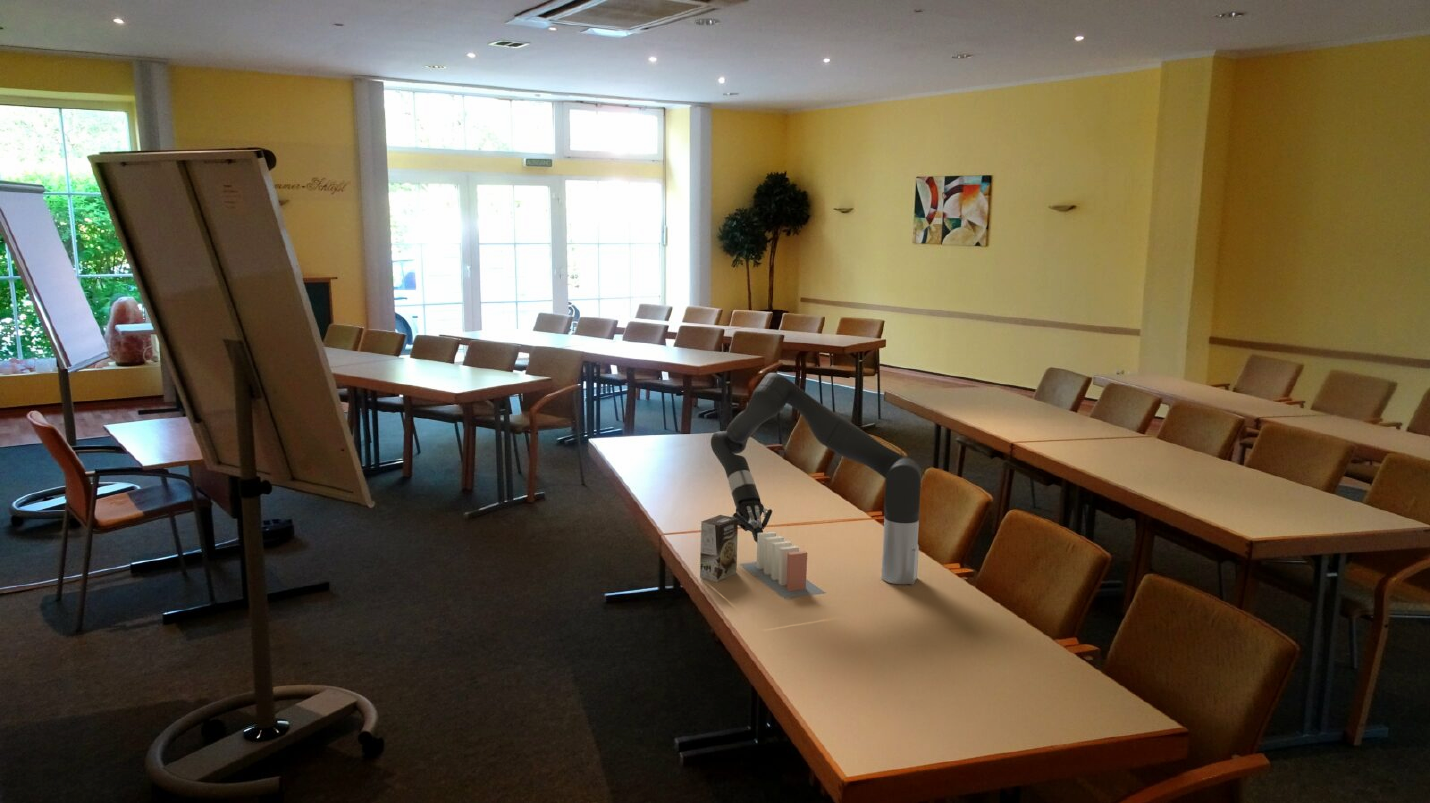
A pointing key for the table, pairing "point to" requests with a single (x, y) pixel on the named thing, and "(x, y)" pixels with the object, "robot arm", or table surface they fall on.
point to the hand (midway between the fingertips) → (760, 541)
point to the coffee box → (718, 547)
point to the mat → (775, 585)
